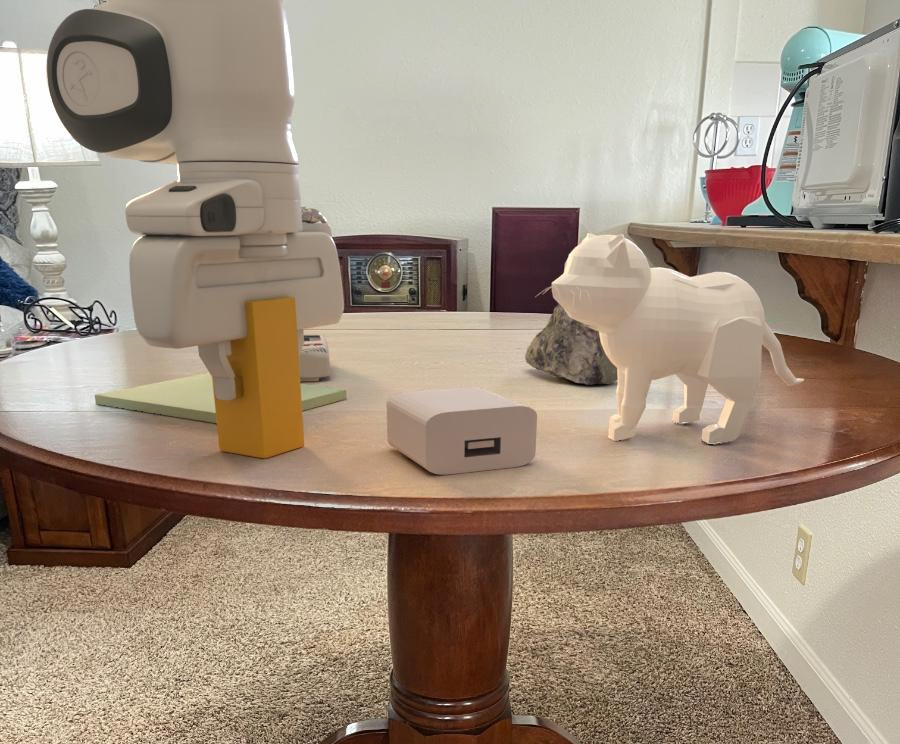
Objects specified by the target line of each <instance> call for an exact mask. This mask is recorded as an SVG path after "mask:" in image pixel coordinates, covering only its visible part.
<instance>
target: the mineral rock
mask: <svg viewBox="0 0 900 744" xmlns="http://www.w3.org/2000/svg"><path fill="white" fill-rule="evenodd" d="M524 359H525V362H526V364H528V365H530V366H531V367H532V368H534V369H535V370H537V371H542V372H545V373H548V374H550V375H551V376H554V377H557V378H560V377H562V378H565V379H566V380H569V381H571V382H573V383H575V384H580V385H586V386H590V385H607V384H608V385H611V384H613V383H615V382H616V381H618V374H617V367H616V366H615V365H614V364H612V363H611V361H610V360H609V358H608V357H607V355H606V354H605V352H604V349H603V347H602V344H601V340H600V335H599V331H596V330H594V329H591V328H589V327H587V326H584V325H583V323H581V322H579V321H576V320H574V319H572V318H570V317H569V316H568V314H567V313H566V311H565V310H564V308H563V307H562V306H561V305H560V304H559V303H558V304H557V305H556V306H555V307H554V309H553V313H552V314H551V315H550V317H549V319H548V321H547V324H546V325H545V327H544V328H543V329H542V330H540V331H539V332H537V333H536V335H535V336H534V337H533V339H532V341H531V342H530V344H529V345H528V347H526V351H525V354H524Z"/></svg>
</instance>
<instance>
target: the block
mask: <svg viewBox="0 0 900 744" xmlns="http://www.w3.org/2000/svg"><path fill="white" fill-rule="evenodd" d="M245 308H246V319H247V337H246V338H243V339H237V340H231V352H232V354H231V355H230V356H226V357H227V359H228V361H229V364H230V366H231V368H232V370H233V372H234V374H235V375H238V376H242V378H243V387H242V388H243V389H244V395H243V397H242V398H239V399H235V400H231V401H224V400H219V399H217V398H216V396H215V390H214V380H213V376H212V381H213V391H214V401H215V411H216V421H217V423H216V430H217V439H218V449H219V452H225V453H231V454H236V455H241V456H247V457H253V458H258V459H259V458H260V459H264V460H265V459H268V458H271V457H274V456H275V457H276V456H278V455H281V454H284V453H286V452H290V451H294V450H296V449H300V448H303V447H305V435H304V434H305V433H304V419H303V411H302V400H301V384H302V383H301V382H300V368H299V351H298V335H297V319H296V303H295V298H294V297H282V298H273V299H263V300H254V301H246V302H245Z"/></svg>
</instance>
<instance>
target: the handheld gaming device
mask: <svg viewBox="0 0 900 744" xmlns="http://www.w3.org/2000/svg"><path fill="white" fill-rule="evenodd" d="M329 350H330V349H329V345H328V342H327V338H326V335H325V334H323V333H318V334H317V333H314V334H311V333H310V334H304V345H303V347H302V350H301V353H300V356H299V368H300V383H301V382H303V383H304V382H320V378H326V377H329V376H331V361H330V351H329Z"/></svg>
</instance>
